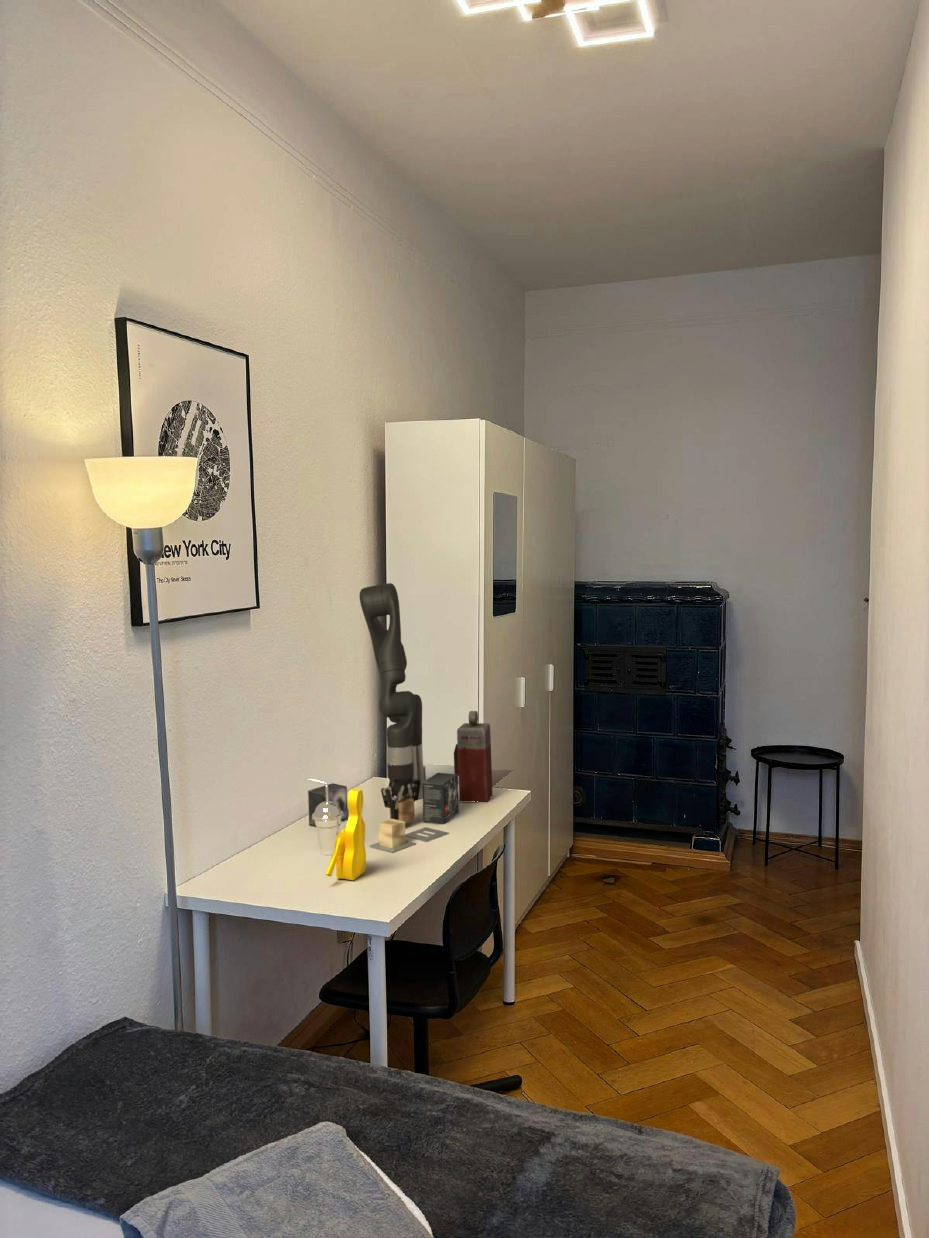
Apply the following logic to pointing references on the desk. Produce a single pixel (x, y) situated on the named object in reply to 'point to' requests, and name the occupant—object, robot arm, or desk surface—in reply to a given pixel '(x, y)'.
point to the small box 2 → (440, 798)
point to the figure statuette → (350, 842)
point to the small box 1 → (335, 795)
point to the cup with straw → (327, 822)
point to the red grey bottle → (473, 760)
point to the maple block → (392, 833)
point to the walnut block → (405, 810)
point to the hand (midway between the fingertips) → (402, 818)
